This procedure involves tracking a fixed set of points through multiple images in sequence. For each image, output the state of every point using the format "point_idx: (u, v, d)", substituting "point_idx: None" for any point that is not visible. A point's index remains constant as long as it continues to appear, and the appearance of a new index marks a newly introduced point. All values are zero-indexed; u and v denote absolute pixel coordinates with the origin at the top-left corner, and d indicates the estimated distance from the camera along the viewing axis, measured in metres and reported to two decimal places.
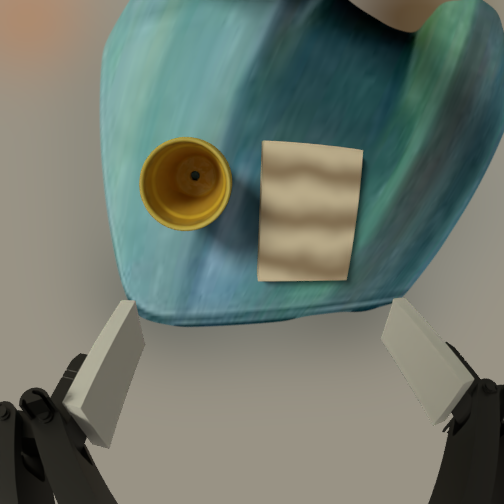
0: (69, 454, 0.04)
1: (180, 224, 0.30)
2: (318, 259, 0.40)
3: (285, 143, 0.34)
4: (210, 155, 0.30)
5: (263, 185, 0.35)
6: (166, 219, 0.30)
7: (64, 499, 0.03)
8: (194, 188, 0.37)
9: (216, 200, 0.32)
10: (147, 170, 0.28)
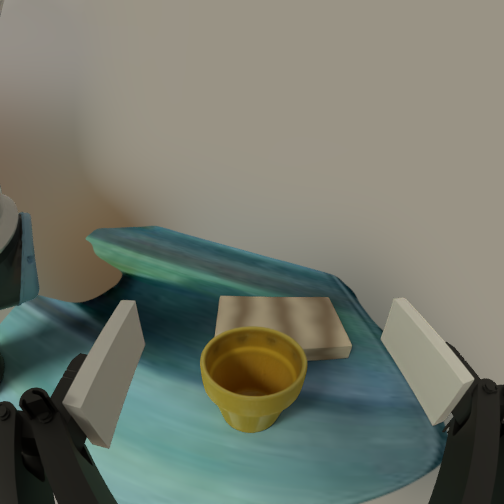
0: (69, 454, 0.04)
1: (301, 365, 0.25)
2: (316, 313, 0.45)
3: (216, 335, 0.38)
4: (224, 364, 0.29)
5: None
6: None
7: (64, 499, 0.03)
8: None
9: (272, 357, 0.29)
10: None
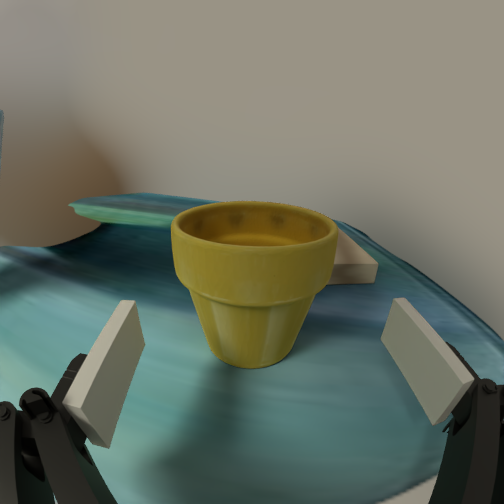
0: (69, 454, 0.04)
1: (327, 230, 0.17)
2: None
3: None
4: None
5: None
6: None
7: (64, 499, 0.03)
8: None
9: None
10: None
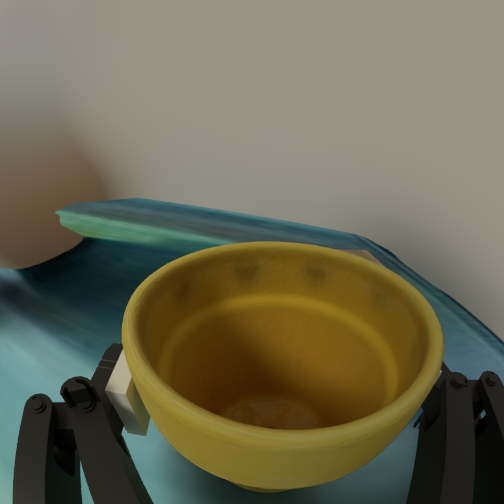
0: (109, 445, 0.05)
1: (412, 312, 0.08)
2: None
3: None
4: (207, 337, 0.12)
5: None
6: (420, 348, 0.07)
7: (98, 490, 0.04)
8: None
9: (319, 317, 0.13)
10: None
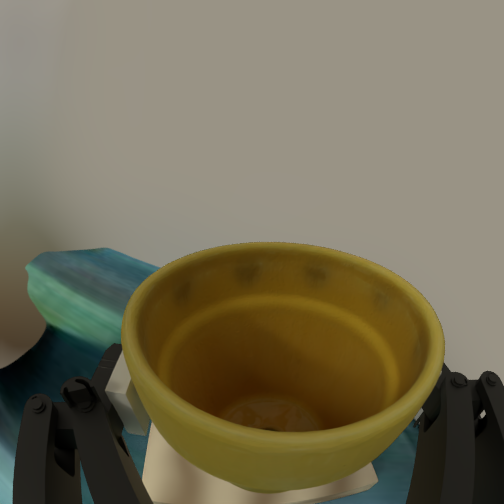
0: (109, 445, 0.05)
1: (413, 313, 0.08)
2: None
3: (145, 472, 0.16)
4: (206, 337, 0.12)
5: None
6: (420, 350, 0.07)
7: (98, 490, 0.04)
8: None
9: (319, 317, 0.13)
10: None
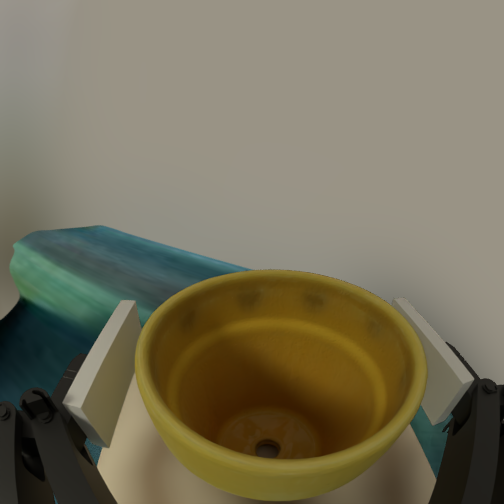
0: (69, 454, 0.04)
1: (402, 345, 0.09)
2: None
3: None
4: (210, 359, 0.13)
5: None
6: (405, 381, 0.07)
7: (64, 499, 0.03)
8: (298, 447, 0.12)
9: (316, 340, 0.13)
10: None
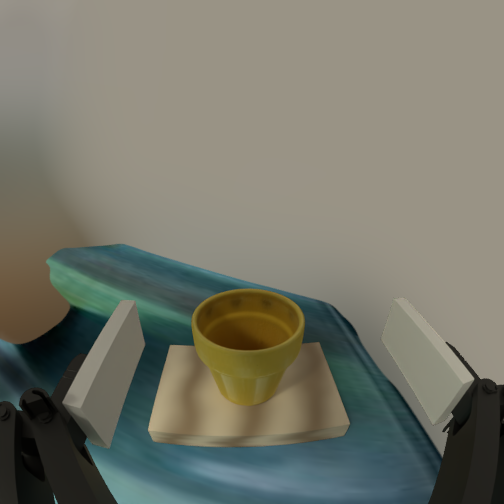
0: (69, 454, 0.04)
1: (298, 322, 0.24)
2: (300, 370, 0.30)
3: (154, 409, 0.24)
4: (218, 330, 0.28)
5: (207, 434, 0.21)
6: None
7: (64, 499, 0.03)
8: None
9: (268, 322, 0.29)
10: None
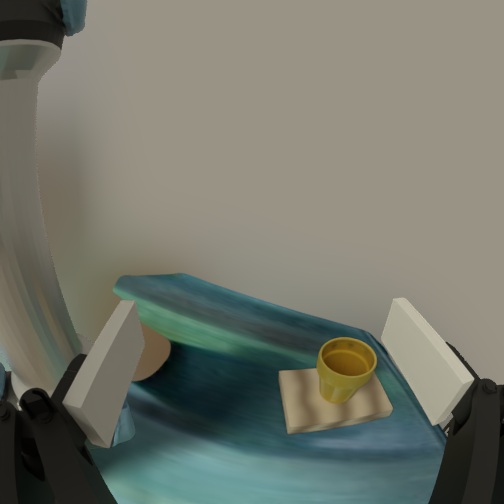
0: (69, 454, 0.04)
1: (372, 357, 0.41)
2: None
3: (288, 414, 0.41)
4: (324, 362, 0.45)
5: (323, 422, 0.38)
6: (372, 365, 0.40)
7: (64, 499, 0.03)
8: None
9: (350, 355, 0.46)
10: None
